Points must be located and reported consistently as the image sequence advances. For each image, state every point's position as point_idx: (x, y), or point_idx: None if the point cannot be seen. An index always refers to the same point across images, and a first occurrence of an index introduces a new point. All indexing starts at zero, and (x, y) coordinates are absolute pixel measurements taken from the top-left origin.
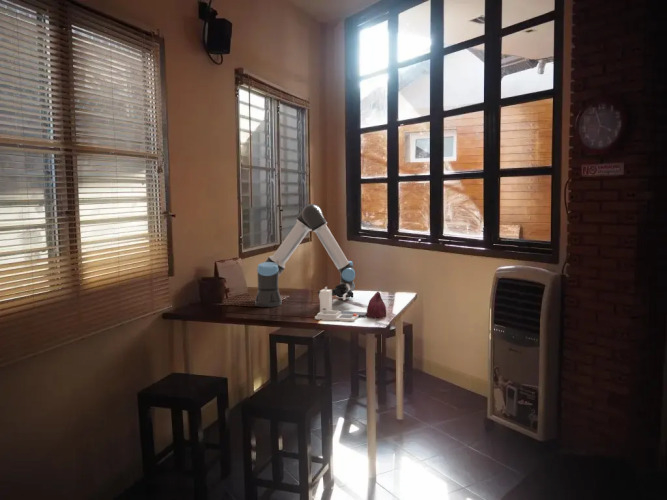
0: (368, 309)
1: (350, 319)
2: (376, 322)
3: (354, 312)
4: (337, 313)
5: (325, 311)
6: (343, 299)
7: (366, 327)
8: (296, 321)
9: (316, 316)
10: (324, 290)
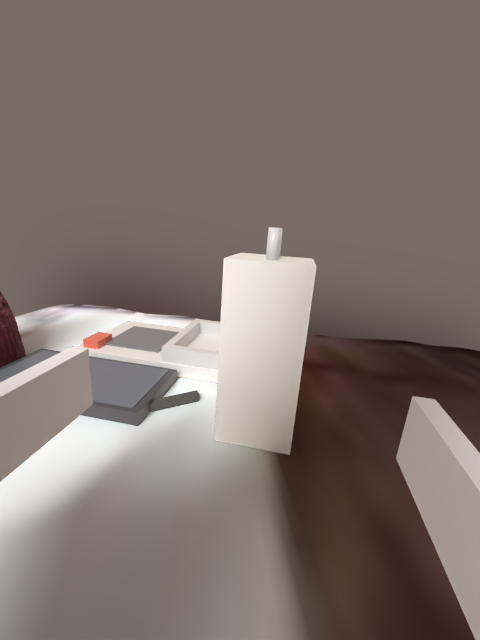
0: (14, 320)
1: (139, 323)
2: (42, 324)
3: None
4: (186, 327)
5: None
6: (86, 396)
7: (108, 307)
8: (336, 339)
9: None
10: (283, 258)
